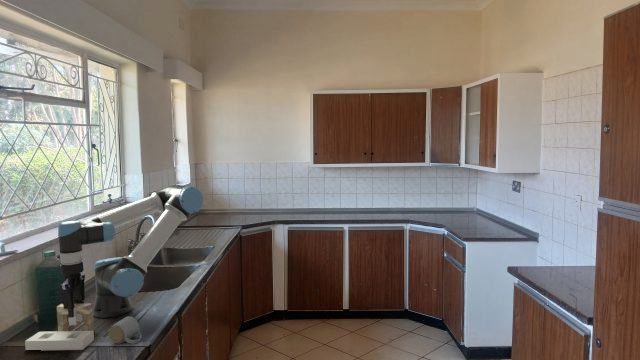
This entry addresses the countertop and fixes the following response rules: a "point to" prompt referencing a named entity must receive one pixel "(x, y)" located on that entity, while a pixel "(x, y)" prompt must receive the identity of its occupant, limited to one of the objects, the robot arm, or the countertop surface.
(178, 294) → the countertop surface
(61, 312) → the clip
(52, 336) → the white flat block
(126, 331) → the ceramic mug
